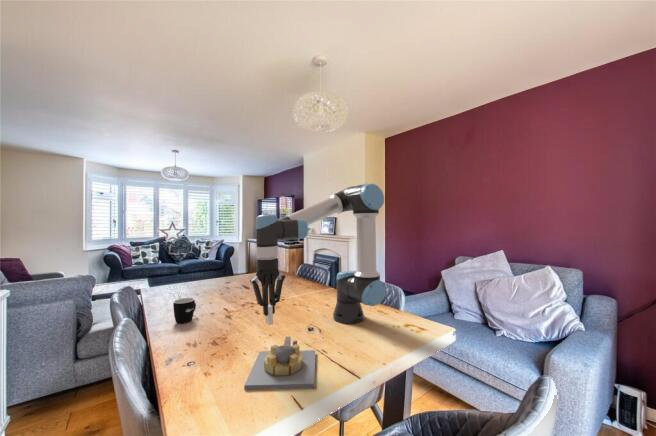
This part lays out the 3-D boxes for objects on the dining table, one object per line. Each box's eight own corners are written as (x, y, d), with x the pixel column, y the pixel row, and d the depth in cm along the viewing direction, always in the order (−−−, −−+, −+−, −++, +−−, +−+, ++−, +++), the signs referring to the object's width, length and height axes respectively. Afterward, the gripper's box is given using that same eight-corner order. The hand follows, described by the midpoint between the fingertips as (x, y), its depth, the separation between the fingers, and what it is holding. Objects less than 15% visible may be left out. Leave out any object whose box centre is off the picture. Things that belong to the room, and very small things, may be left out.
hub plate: (315, 353, 97) (315, 335, 97) (314, 387, 77) (314, 365, 77) (259, 354, 97) (259, 336, 97) (244, 389, 77) (244, 367, 77)
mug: (185, 325, 123) (185, 303, 123) (168, 324, 125) (168, 302, 125) (202, 316, 135) (202, 296, 135) (187, 315, 137) (187, 295, 137)
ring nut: (301, 374, 81) (301, 360, 81) (261, 376, 81) (261, 361, 81) (304, 344, 101) (304, 332, 101) (272, 345, 101) (272, 333, 101)
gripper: (279, 254, 103) (280, 316, 103) (245, 258, 95) (247, 325, 95) (288, 256, 97) (290, 321, 97) (253, 261, 89) (256, 332, 89)
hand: (269, 323), depth 96 cm, fingers closed
